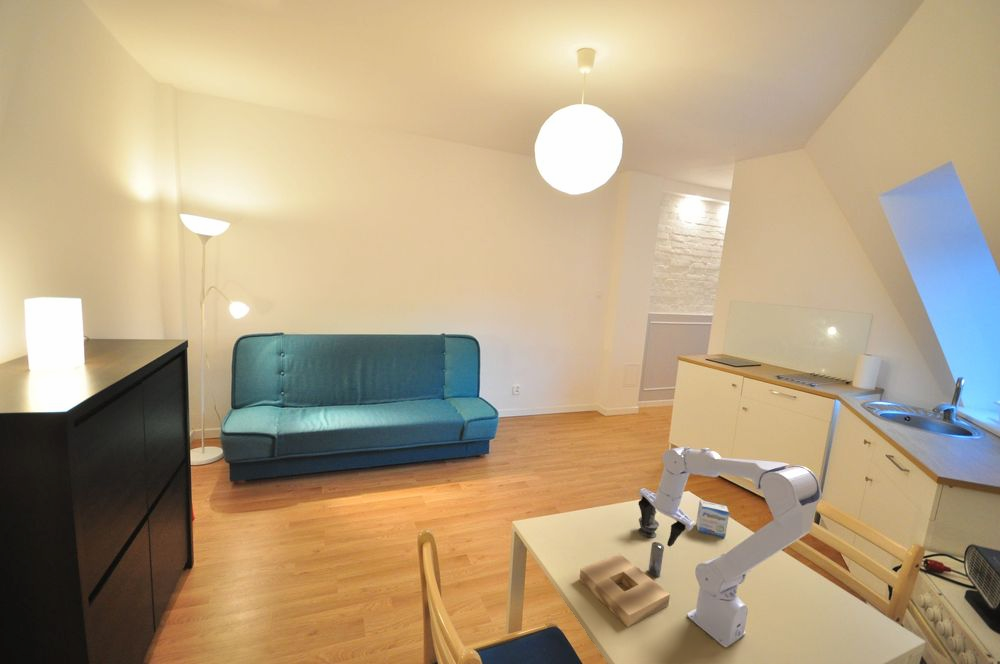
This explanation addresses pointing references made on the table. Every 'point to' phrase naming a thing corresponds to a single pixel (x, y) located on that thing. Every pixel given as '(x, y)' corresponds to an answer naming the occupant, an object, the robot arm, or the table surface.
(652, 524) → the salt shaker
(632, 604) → the oak hole block
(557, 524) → the table surface
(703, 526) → the medicine box
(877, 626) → the table surface
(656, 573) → the metal peg
